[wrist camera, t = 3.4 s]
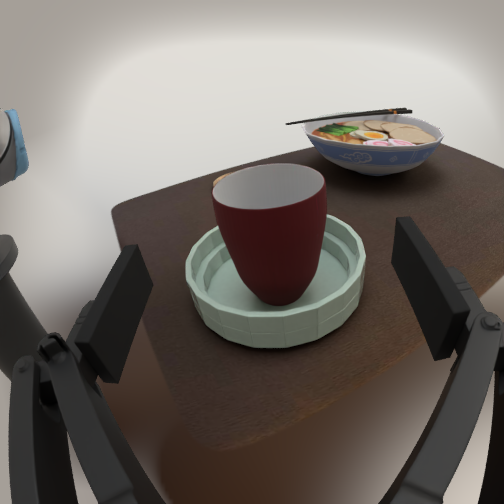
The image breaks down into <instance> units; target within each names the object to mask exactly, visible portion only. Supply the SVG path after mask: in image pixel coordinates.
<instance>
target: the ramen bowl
mask: <svg viewBox="0 0 504 504" xmlns="http://www.w3.org/2000/svg"><path fill="white" fill-rule="evenodd" d="M407 113H412V110H407V109H406V108H396V109H385V110H375V111H366V112H343V113H336V114H330V115H323V116H319V117H317V118H314V119H309V120H303V121H297V122H291V123H286V125H291V124H297V123H305V122H306V123H305V124H304V125H303V126H302V128H303V130H304V131H305V133H306V135H307V136H308V138H309V139H310V141H311V142H312V144H313V145H314V146H315V148H316V149H317V150H318V151H319V152H320V153H321V154H322V155H323V156H324V157H325V158H326V159H328V160H329V161H331V162H333V163H335V164H337V165H339V166H341V167H343V168H346V169H350V170H354V171H356V172H358V173H360V174H365V175H371V176H384V175H389V174H392V173H399V172H403V171H406V170H409V169H412V168H415V167H417V166H419V165H420V164H421V163H422V162H424V161H425V160H426V159H427V158H428V157H429V156H430V155H431V154H432V153H433V152H434V150H435V149H436V148H437V147H438V145H439V144H440V142H441V140H442V139H443V137H444V134H443V133H442V131H441V130H440V128H438V127H436V126H434V125H432V124H430V123H428V122H426V121H423V120H419V119H415V118H412V117H409V116H402V115H397V114H407Z"/></svg>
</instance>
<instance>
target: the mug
mask: <svg viewBox="0 0 504 504" xmlns="http://www.w3.org/2000/svg"><path fill="white" fill-rule="evenodd" d="M212 200H213V206H214V211H215V216H216V221H217V224H218V228H219V231H220V233H221V236H222V238H223V240H224V243H225V245H226V247H227V250H228V252H229V254H230V256H231V259H232V261H233V263H234V265H235V268H236V270H237V272H238V274H239V276H240V278H241V280H242V281H243V283H244V284H245V285H246V286H247V287H248V288H249V289H250V290H251V291H252V292H253V293H254V294H255V295H256V296H257V297H258V298H259V299H260V300H261V301H263V302H264V303H266V304H269V305H272V306H285V305H289V304H291V303H293V302H295V301H297V300H298V299H299V298H300V297H301V296H302V295H303V293H304V292H305V290H306V289H307V288H308V286H309V285H310V283H311V281H312V280H313V278H314V276H315V274H316V271H317V268H318V264H319V259H320V253H321V248H322V243H323V237H324V231H325V225H326V218H327V195H326V182H325V178H324V176H323V175H322V174H321V173H320V172H318V171H317V170H315V169H313V168H310V167H307V166H303V165H298V164H289V163H274V164H264V165H257V166H253V167H248V168H245V169H241V170H239V171H236V172H233V173H231V174H229V175H227V176H225V177H224V178H222V179H221V180H220V181H218V182H217V183H216V184H215V186H214V187H213V189H212Z"/></svg>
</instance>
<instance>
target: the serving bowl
mask: <svg viewBox="0 0 504 504" xmlns="http://www.w3.org/2000/svg"><path fill="white" fill-rule="evenodd" d="M365 261H366V254H365V250H364V247H363V243H362V240H361V238H360V237H359V236H358V235H357V233H356V232H355V231H354V230H353V229H352V228H351V227H350V226H349V225H347V224H346V223H344V222H342V221H341V220H339V219H337V218H335V217H333V216H331V215H327V218H326V225H325V231H324V237H323V243H322V248H321V253H320V259H319V264H318V268H317V271H316V274H315V276H314V278H313V280H312V281H311V283H310V285H309V286H308V288H307V289H306V290H305V292H304V293H303V295H302V296H301V297H300V298H299V299H298V300H297V301H295V302H293V303H291V304H289V305H285V306H272V305H269V304H266V303H264V302H263V301H261V300H260V299H259V298H258V297H257V296H256V295H255V294H254V293H253V292H252V291H251V290H250V289H249V288H248V287H247V286H246V285H245V284H244V283H243V281H242V280H241V278H240V276H239V274H238V272H237V270H236V268H235V265H234V263H233V261H232V259H231V256H230V254H229V252H228V250H227V247H226V245H225V243H224V240H223V238H222V236H221V233H220V231H219V228H218V226H217V227H215V228H214V229H212V230H210V231H209V232H207V233H206V234H205V235H204V236H203V237H202V238H201V239H200V240H199V241H198V242H197V243H196V244H195V245H194V246H193V248H192V250H191V252H190V254H189V256H188V258H187V260H186V281H187V284H188V287H189V289H190V292H191V295H192V298H193V301H194V304H195V307H196V309H197V311H198V313H199V314H200V316H201V318H202V319H203V321H204V323H205V324H206V325H207V326H208V327H209V328H211V329H212V330H213V331H215V332H216V333H218V334H219V335H221V336H222V337H223V338H225V339H227V340H229V341H233V342H236V343H239V344H243V345H246V346H250V347H253V348H286V347H287V348H288V347H292V346H296V345H299V344H303V343H307V342H311V341H314V340H317V339H319V338H321V337H323V336H325V335H326V334H328V333H330V332H331V331H333V330H335V329H336V328H338V327H339V326H341V325H342V324H343V323H344V322H345V321H346V320H347V318H348V317H349V316H350V315H351V314H352V312H353V311H354V310H355V309H356V308H357V306H358V303H359V300H360V297H361V293H362V289H363V283H364V272H365Z"/></svg>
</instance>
